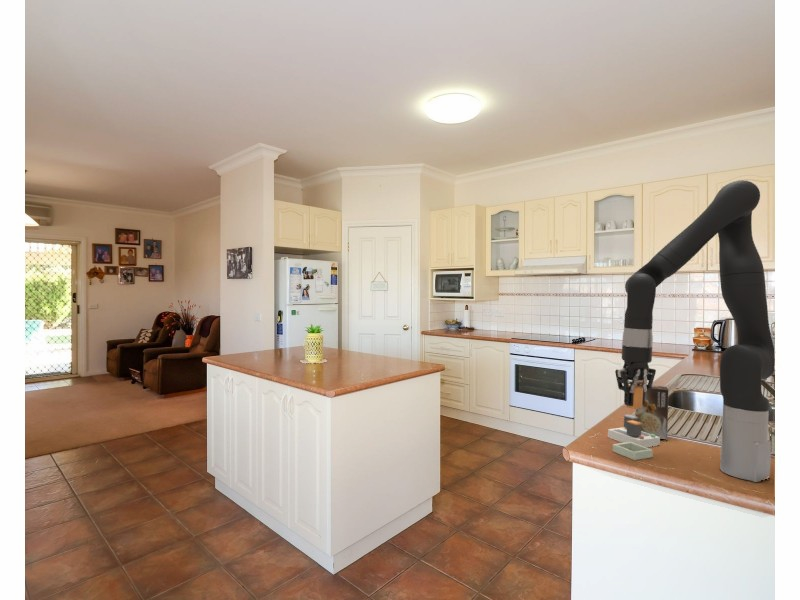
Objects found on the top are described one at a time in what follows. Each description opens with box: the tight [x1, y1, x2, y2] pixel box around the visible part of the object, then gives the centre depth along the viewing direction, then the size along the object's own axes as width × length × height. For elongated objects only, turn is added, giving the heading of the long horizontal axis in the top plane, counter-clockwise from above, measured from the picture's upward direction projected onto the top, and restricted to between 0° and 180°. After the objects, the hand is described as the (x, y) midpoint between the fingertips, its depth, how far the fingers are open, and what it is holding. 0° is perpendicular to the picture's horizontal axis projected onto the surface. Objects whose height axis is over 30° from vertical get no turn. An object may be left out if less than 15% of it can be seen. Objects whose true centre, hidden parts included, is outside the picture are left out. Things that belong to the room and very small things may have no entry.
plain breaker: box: [623, 414, 638, 428], centre depth 141 cm, size 3×2×4 cm
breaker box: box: [607, 426, 661, 448], centre depth 138 cm, size 11×9×3 cm
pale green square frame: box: [612, 442, 654, 461], centre depth 126 cm, size 7×7×2 cm
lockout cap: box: [625, 384, 643, 410], centre depth 126 cm, size 4×4×6 cm
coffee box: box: [634, 384, 669, 441], centre depth 144 cm, size 9×6×16 cm
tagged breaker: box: [627, 420, 642, 437], centre depth 135 cm, size 3×2×4 cm
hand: (634, 404), depth 126 cm, fingers closed on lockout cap, 4 cm apart
